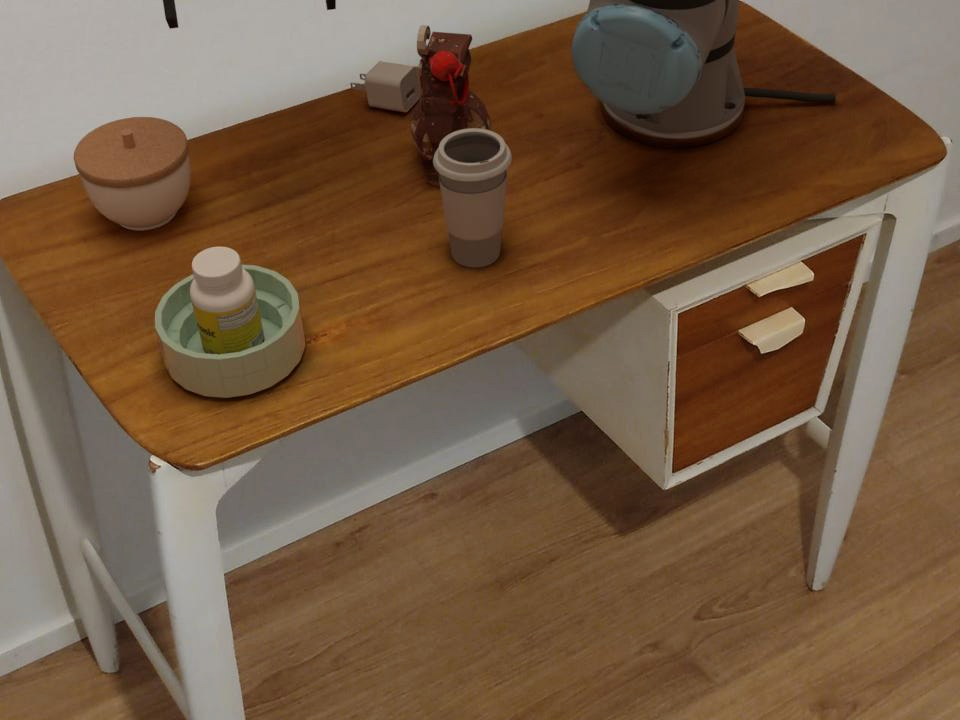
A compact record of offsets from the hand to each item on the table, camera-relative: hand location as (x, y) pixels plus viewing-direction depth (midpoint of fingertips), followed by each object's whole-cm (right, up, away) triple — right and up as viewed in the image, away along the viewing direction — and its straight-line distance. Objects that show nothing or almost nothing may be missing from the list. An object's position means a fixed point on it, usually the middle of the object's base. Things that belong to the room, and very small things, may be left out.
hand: (252, 14), depth 111 cm
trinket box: (-14, -15, +18) cm, 27 cm away
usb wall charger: (+9, +2, +29) cm, 30 cm away
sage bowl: (-2, -29, +3) cm, 29 cm away
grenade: (+16, -9, +23) cm, 30 cm away
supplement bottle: (-2, -29, +3) cm, 29 cm away
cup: (+19, -20, +12) cm, 30 cm away
